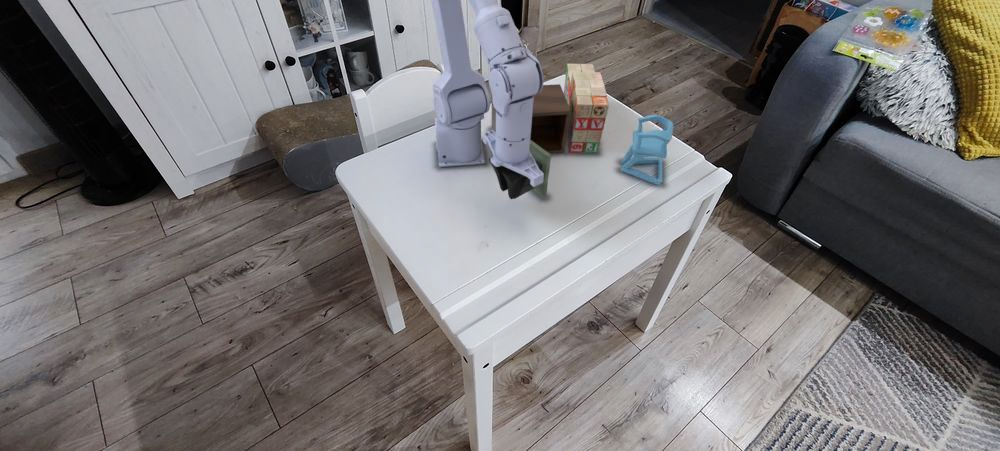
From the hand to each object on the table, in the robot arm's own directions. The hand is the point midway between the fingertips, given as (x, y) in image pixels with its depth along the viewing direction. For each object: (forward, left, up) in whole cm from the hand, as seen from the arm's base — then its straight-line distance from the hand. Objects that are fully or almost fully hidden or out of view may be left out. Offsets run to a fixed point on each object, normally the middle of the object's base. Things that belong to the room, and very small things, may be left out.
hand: (510, 192), depth 84 cm
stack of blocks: (+20, +25, -4) cm, 32 cm away
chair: (+29, +8, -4) cm, 30 cm away
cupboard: (+7, +20, -4) cm, 21 cm away
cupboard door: (0, +6, -4) cm, 7 cm away
